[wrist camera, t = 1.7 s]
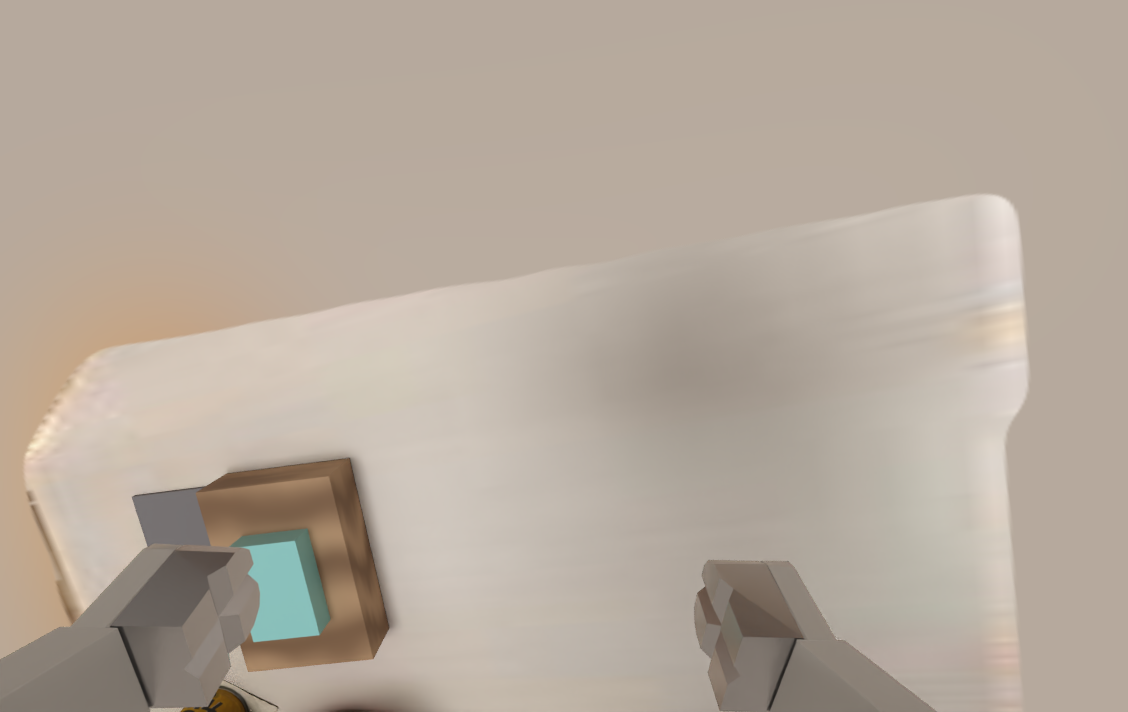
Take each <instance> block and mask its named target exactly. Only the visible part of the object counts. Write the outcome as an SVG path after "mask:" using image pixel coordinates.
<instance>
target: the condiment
mask: <svg viewBox="0 0 1128 712" xmlns="http://www.w3.org/2000/svg"><path fill="white" fill-rule="evenodd" d="M250 709H251V710H252V711H250ZM277 709H278V708H277V707H275V706H273V705H270V704H268V703H267V702H265V701H262V700H260V699H258V698H256V697H255V696H252V695H250V694H249V693H246V692H245V691H243V690H242V689H240V688H238V687H236V686H234V685H232V684H230V683H228V682H226V681H224V680H223V681H222V683H221V685H220V686H219V688H218V690H217V692H216V693H215V695H214V697H213V699H212V700H211V702H210V704H209V705H208V707H184V708H183V709H182V710H181V712H276V710H277Z"/></svg>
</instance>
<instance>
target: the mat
mask: <svg viewBox="0 0 1128 712" xmlns="http://www.w3.org/2000/svg"><path fill="white" fill-rule="evenodd" d="M203 488H204V487H199V488H191V489H183V490H175V491H167V492H159V493H151V494H143V495H135V496H133V497H132V499H133V502H134V505H135V508H136V512H137V515H138V518H139V521H140V524H141V527H142V530H143V533H144V537H145V540H146V543H147V546H150V545H152V544H173V545H203V546H211V544H210V541H209V537H208V534H207V531H206V527H205V524H204V520H203V517H202V514H201V510H200V507H199V504H198V500H197V497H196V492H198V491H199V490H201V489H203Z"/></svg>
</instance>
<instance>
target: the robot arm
mask: <svg viewBox="0 0 1128 712" xmlns="http://www.w3.org/2000/svg"><path fill="white" fill-rule="evenodd" d="M253 564H254V563H253V560H252V556H251V553H250V550H249V549H246V548H240V547H221V546H203V545H173V544H152V545H150V546H148V547H146V548H144V549H143V550H142V551H141V552H140V553H139V554H138V555H137V556H136V557H135V558H134V559H133V560H132V561H131V562H130V564H129V565H128V566H127V567H126V568H125V569H124V570H123V571H122V572H121V573H120V574H119V575H118V576H117V577H116V579H115V580H114V581H113V582H112V583H111V584H110V585H109V586H108V587H107V588H106V589H105V590H104V591H103V592H102V593H101V595H100V596H99V597H98V598H97V599H96V600H95V601H94V602H93V603H92V604H91V605H90V606H89V607H88V608H87V609H86V611H85V612H84V613H83V614H82V615H81V616H80V617H79V618H78V619H77V620H76V621H75V622H74V623H73V624H72V625H71V627H59V628H57V629H55V630H53V631H51V632H50V633H48V634H46V635H44V636H42V637H40V638H39V639H37V640H35V641H33V642H31V643H29V644H28V645H26V646H24V647H22V648H20V649H19V650H17V651H15V652H13V653H11V654H9V655H8V656H6V657H4V658H2V659H0V712H150V708H180V707H208V705H209V704H210V702H211V700H212V699H213V697H214V695H215V693H216V692H217V690H218V688H219V686H220V685H221V683H222V681H223V679H224V678H225V676H226V674H227V672H228V671H229V669H230V667H231V664H230V658H229V653H230V652H231V651H232V650H234V649H235V648H237V647H238V646H239V645H241V644H242V643H243V642H245V641H246V639H247V637H248V635H249V633H250V632H251V630H252V628H253V626H254V624H255V620H256V617H257V614H258V610H259V607H260V591H259V586H258V582H256V581H255V580H254V579H253V578H252V577H251V576H250V575H248V572H249V570H250V569H251V567H252V566H253ZM702 578H703V581H704V583H705V587H704V588H703V589H702V590H700V591H699V592H698V593H697V597H696V602H695V606H694V617H695V628H696V634H697V638H698V641H699V645H700V648H701V649H702V650H703V651H704V652H705V653H706V654H707V655H708V656H709V657H710V658H711V663H710V666H709V670H708V675H709V678H710V681H711V684H712V688H713V691H714V694H715V697H716V700H717V704H718V707H719V710H720V711H738V712H937V711H935V710H934V709H933V708H931V707H930V706H929V705H928V704H926V703H925V702H924V701H922V700H921V699H920V698H919V697H917V696H916V695H915V694H913V693H912V692H911V691H910V690H908V689H907V688H906V687H904V686H903V685H902V684H900V683H899V682H898V681H897V680H895V679H894V678H893V677H891V676H890V675H889V674H888V673H886V672H885V671H884V670H882V669H881V668H880V667H879V666H877V665H876V664H875V663H873V662H872V661H871V660H869V659H868V658H867V657H866V656H864V655H863V654H862V653H860V652H859V651H858V650H857V649H855V648H854V647H853V646H851V645H850V644H849V643H848V642H846V641H843V640H836V638H835V636H834V635H833V633H832V631H831V630H830V628H829V626H828V624H827V623H826V621H825V619H824V617H823V616H822V614H821V612H820V611H819V609H818V607H817V605H816V604H815V602H814V600H813V598H812V597H811V595H810V593H809V592H808V590H807V588H806V586H805V585H804V583H803V581H802V579H801V578H800V576H799V574H798V572H797V571H796V569H795V567H794V566H793V565H792V564H791V563H789V562H788V561H761V562H760V561H733V560H708V561H707V563H706V564H705V565H704V569H703V573H702Z"/></svg>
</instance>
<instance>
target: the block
mask: <svg viewBox="0 0 1128 712" xmlns="http://www.w3.org/2000/svg"><path fill="white" fill-rule="evenodd" d="M229 547H240V548H246V549H249V550H250V553H251V556H252V560H253V563H254V564H253V566H252V567H251V569H250V570H249V572H248V575H250V576H251V577H252V578H253V579H254V580H255V581H256V582H258V586H259V591H260V607H259V610H258V614H257V617H256V620H255V624H254V626H253V628H252V630H251V635H252V639H253V642H260V641H270V640H279V639H289V638H298V637H307V636H317V635H320V634H321V633H322V631H323V630H324V628H325V627H326V625H327V624H328V622H329V621H330V615H329V611H328V607H327V603H326V599H325V595H324V591H323V588H322V584H321V580H320V576H319V572H318V568H317V564H316V560H315V556H314V552H313V548H312V545H311V541H310V537H309V533H308V529H298V530H290V531H281V532H273V533H265V534H256V535H248V536H241V537H240V538H239V539H238V540H237V541H235V542H234V543H233V544H232V545H231V546H229Z"/></svg>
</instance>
